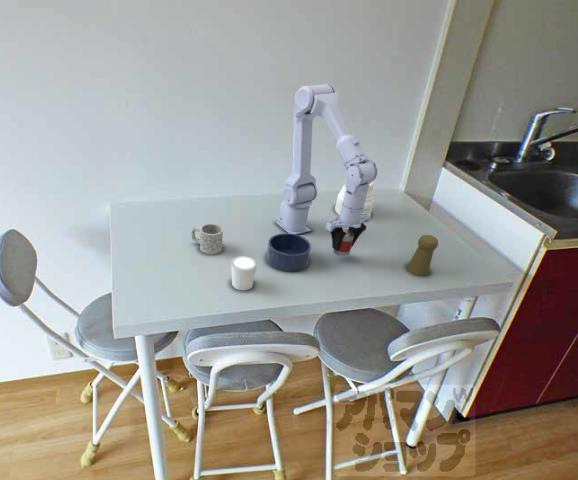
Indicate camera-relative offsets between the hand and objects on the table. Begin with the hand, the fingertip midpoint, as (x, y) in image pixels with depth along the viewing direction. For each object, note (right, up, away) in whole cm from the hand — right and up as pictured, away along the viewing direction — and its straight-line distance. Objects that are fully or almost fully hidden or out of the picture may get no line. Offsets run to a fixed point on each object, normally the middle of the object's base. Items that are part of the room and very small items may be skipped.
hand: (342, 247), depth 124 cm
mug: (-41, 0, +4) cm, 41 cm away
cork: (+22, -7, 0) cm, 23 cm away
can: (0, -1, +1) cm, 2 cm away
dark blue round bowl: (-16, -4, +1) cm, 17 cm away
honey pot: (+11, +15, +28) cm, 34 cm away
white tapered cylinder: (-30, -11, -10) cm, 33 cm away
